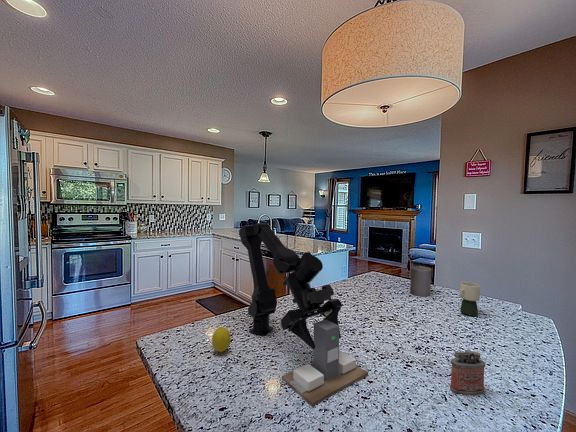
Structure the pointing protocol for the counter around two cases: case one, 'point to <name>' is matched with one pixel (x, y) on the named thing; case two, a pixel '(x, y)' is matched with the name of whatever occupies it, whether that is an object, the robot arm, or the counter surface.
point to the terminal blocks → (314, 378)
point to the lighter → (467, 373)
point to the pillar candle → (420, 281)
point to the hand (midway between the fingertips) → (327, 343)
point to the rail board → (328, 385)
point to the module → (326, 348)
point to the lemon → (221, 339)
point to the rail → (302, 389)
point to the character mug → (469, 297)
